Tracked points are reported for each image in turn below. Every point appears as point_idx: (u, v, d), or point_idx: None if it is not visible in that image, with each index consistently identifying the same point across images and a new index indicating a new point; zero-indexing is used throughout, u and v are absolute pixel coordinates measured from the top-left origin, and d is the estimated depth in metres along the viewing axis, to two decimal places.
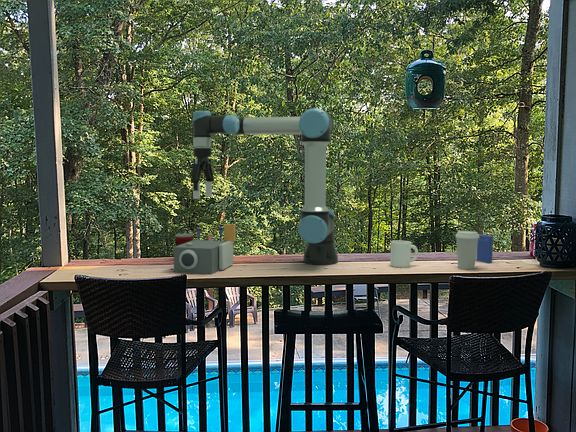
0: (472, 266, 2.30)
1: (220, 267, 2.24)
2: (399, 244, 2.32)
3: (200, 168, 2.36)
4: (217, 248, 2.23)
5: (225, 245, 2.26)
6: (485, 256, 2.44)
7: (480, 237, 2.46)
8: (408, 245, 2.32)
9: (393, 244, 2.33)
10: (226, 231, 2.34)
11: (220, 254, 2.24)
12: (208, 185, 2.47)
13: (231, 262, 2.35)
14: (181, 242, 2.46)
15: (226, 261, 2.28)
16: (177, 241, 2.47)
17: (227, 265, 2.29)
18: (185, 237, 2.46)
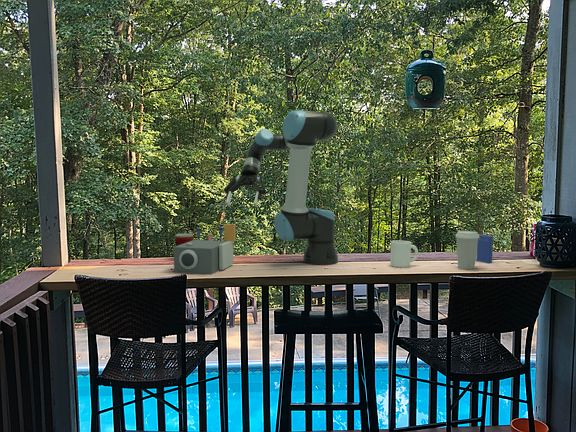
0: (472, 266, 2.30)
1: (220, 267, 2.24)
2: (399, 244, 2.32)
3: None
4: (217, 248, 2.23)
5: (225, 245, 2.26)
6: (485, 256, 2.44)
7: (480, 237, 2.46)
8: (408, 245, 2.32)
9: (393, 244, 2.33)
10: (226, 231, 2.34)
11: (220, 254, 2.24)
12: None
13: (231, 262, 2.35)
14: (181, 242, 2.46)
15: (226, 261, 2.28)
16: (177, 241, 2.47)
17: (227, 265, 2.29)
18: (185, 237, 2.46)
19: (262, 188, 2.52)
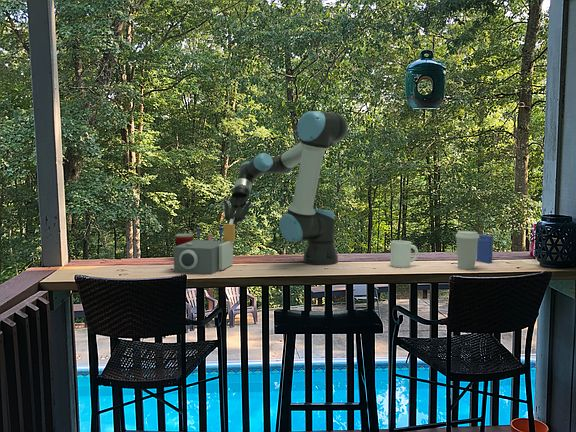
0: (472, 266, 2.30)
1: (219, 267, 2.24)
2: (399, 244, 2.32)
3: None
4: (217, 248, 2.23)
5: (224, 245, 2.26)
6: (485, 256, 2.44)
7: (480, 237, 2.46)
8: (408, 245, 2.32)
9: (393, 244, 2.33)
10: (225, 231, 2.33)
11: (219, 254, 2.23)
12: None
13: (231, 263, 2.34)
14: (181, 242, 2.46)
15: (225, 261, 2.27)
16: (177, 241, 2.47)
17: (226, 265, 2.29)
18: (185, 237, 2.46)
19: (239, 214, 2.40)
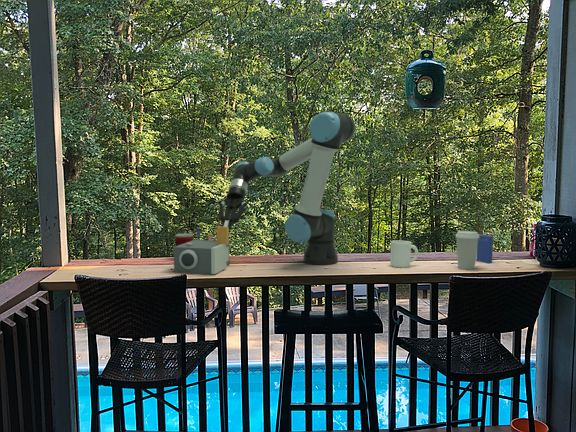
0: (472, 266, 2.30)
1: (212, 271, 2.16)
2: (399, 244, 2.32)
3: None
4: None
5: (217, 248, 2.18)
6: (485, 256, 2.44)
7: (480, 237, 2.46)
8: (408, 245, 2.32)
9: (393, 244, 2.33)
10: (219, 234, 2.26)
11: (212, 258, 2.15)
12: None
13: (224, 266, 2.26)
14: (181, 242, 2.46)
15: (218, 265, 2.19)
16: (177, 241, 2.47)
17: (220, 269, 2.21)
18: (185, 237, 2.46)
19: (235, 216, 2.32)
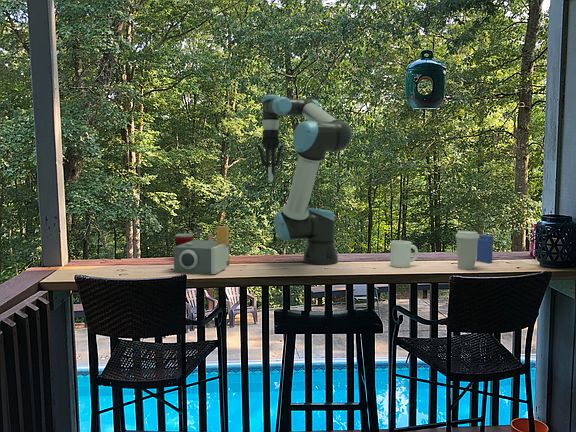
0: (472, 266, 2.30)
1: (212, 271, 2.16)
2: (399, 244, 2.32)
3: None
4: None
5: (217, 248, 2.18)
6: (485, 256, 2.44)
7: (480, 237, 2.46)
8: (408, 245, 2.32)
9: (393, 244, 2.33)
10: (219, 234, 2.25)
11: (212, 258, 2.15)
12: None
13: (224, 266, 2.26)
14: (181, 242, 2.46)
15: (218, 265, 2.19)
16: (177, 241, 2.47)
17: (220, 269, 2.21)
18: (185, 237, 2.46)
19: None
